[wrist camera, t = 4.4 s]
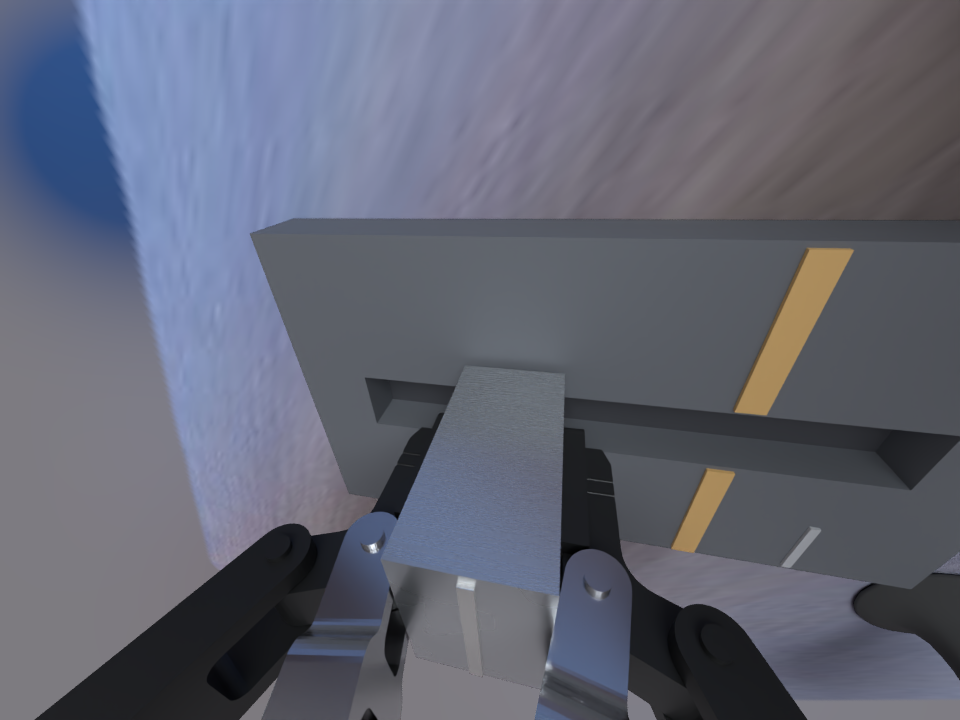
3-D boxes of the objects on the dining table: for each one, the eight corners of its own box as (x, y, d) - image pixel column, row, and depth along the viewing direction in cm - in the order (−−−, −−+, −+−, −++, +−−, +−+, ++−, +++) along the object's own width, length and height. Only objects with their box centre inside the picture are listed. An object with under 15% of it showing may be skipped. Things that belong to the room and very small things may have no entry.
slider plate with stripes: (1183, 221, 8) (1359, 249, 6) (872, 536, 14) (913, 593, 13) (293, 218, 12) (246, 234, 10) (368, 461, 19) (347, 495, 17)
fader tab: (565, 348, 12) (558, 603, 5) (555, 444, 14) (543, 696, 8) (475, 342, 12) (377, 565, 6) (480, 435, 15) (414, 662, 8)
